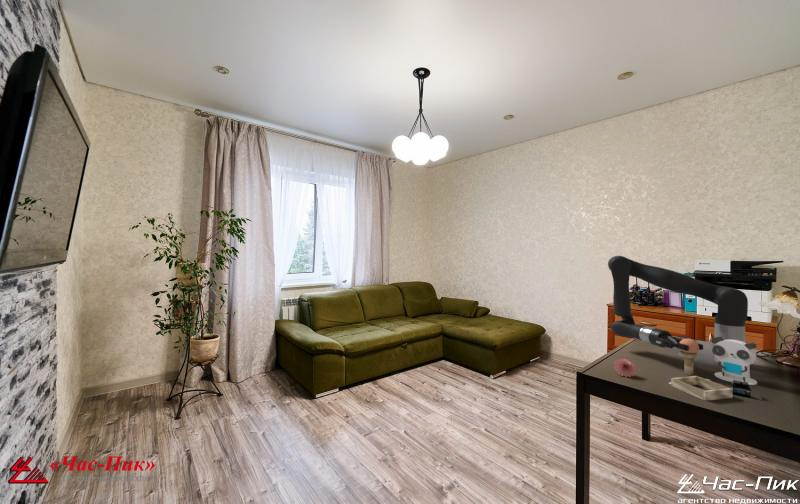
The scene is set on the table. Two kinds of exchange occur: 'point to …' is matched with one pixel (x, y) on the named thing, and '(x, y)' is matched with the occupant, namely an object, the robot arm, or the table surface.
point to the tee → (689, 362)
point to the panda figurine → (734, 359)
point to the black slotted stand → (743, 393)
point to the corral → (712, 394)
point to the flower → (625, 367)
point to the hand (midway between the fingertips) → (695, 347)
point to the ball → (690, 346)
